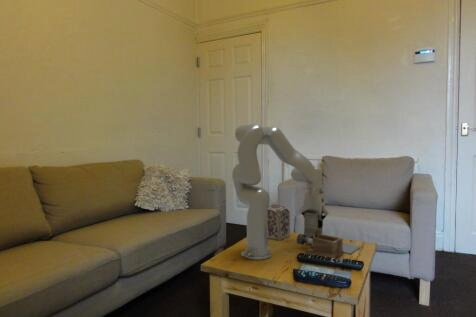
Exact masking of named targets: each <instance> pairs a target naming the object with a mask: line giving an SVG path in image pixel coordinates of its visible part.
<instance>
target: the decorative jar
mask: <svg viewBox="0 0 476 317" xmlns="http://www.w3.org/2000/svg"><path fill="white" fill-rule="evenodd" d="M290 215H291V214H290V211H289V209H288V208H287V207H286V206H283V205H281V203H278V202H277V203H276V202H275V203H274V202H273V203H271V205H269V206H268V239H270V240H275V241H282V240H283V239H285V238H288V237H290V236H291V216H290Z"/></svg>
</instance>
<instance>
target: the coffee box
mask: <svg viewBox="0 0 476 317" xmlns="http://www.w3.org/2000/svg"><path fill="white" fill-rule="evenodd" d="M322 215H324V214H322ZM303 218H304V220H303V221H304V222H303V223H304V226H303V228H304V230H303V234H304V235H306V237H309V238H314V237H315V238H319V235H320V234H322V235H323V227H322V228H318V220H319V218H318V212H315V211H310V210H306V211H305V214H304V216H303Z"/></svg>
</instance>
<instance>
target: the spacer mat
mask: <svg viewBox="0 0 476 317" xmlns="http://www.w3.org/2000/svg"><path fill="white" fill-rule="evenodd" d="M359 249H361V246H359V245H354V244H349V243H343V254H346V255H352V254H354V253H355V252H356V251H358V250H359Z"/></svg>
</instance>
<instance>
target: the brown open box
mask: <svg viewBox="0 0 476 317" xmlns="http://www.w3.org/2000/svg"><path fill="white" fill-rule="evenodd" d="M343 240H344V239H343V237H338V236H333V235H328V234H323V233H322V234H320V235H319V238H315V237H314V238H313V245H311V246H310V247H309V248H307V249H306V250H305V254H307V255H311V254H313V255H312V256H315V255H318V256H317V257H319V256H326V257H331V258H336V259H338V258H340V256H342V255H344V253H343Z"/></svg>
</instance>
